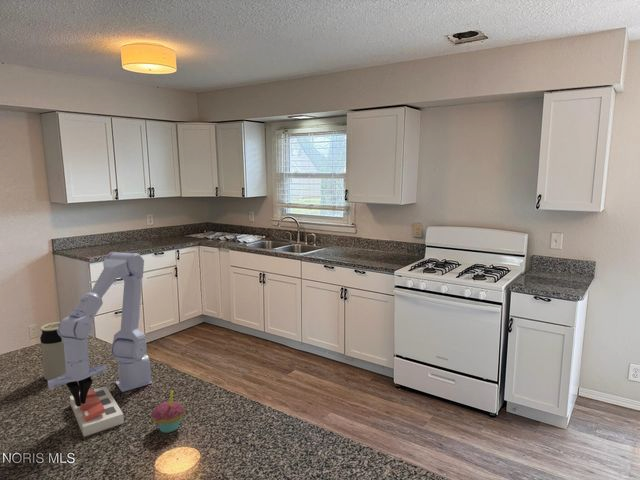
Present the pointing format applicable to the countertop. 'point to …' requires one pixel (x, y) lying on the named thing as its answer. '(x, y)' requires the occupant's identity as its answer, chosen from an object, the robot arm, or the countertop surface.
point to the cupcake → (168, 415)
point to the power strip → (103, 421)
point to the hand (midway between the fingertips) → (80, 404)
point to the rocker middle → (90, 403)
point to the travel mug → (52, 351)
